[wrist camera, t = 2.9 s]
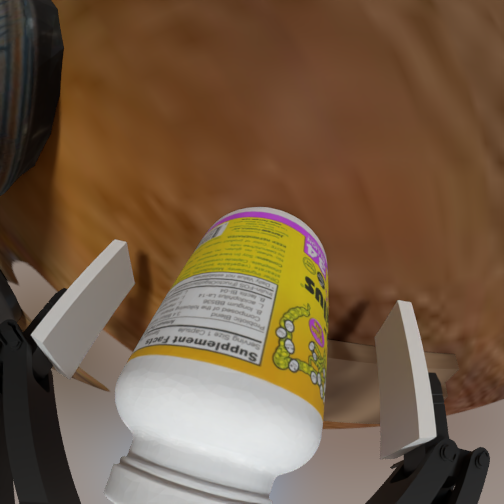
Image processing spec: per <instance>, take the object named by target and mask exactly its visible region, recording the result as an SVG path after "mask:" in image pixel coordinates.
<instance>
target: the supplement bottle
mask: <svg viewBox="0 0 504 504" xmlns="http://www.w3.org/2000/svg"><path fill="white" fill-rule="evenodd" d="M327 344H328V269H327V259H326V255H325V251H324V249H323V246H322V244H321V242H320V241H319V239H318V237H317V236H316V234H315V233H314V232H313V231H312V230H311V229H310V228H309V227H308V226H307V225H306V224H305V223H304V222H302V221H301V220H299V219H298V218H296V217H294V216H293V215H291V214H289V213H286V212H284V211H281V210H277V209H273V208H268V207H251V208H244V209H240V210H236V211H234V212H231V213H229V214H227V215H225V216H223V217H222V218H220V219H219V220H218V221H217V222H216V223H215V224H214V225H213V226H212V227H211V228H210V229H209V230H208V232H207V233H206V234H205V236H204V237H203V239H202V240H201V241H200V243H199V245H198V246H197V248H196V249H195V251H194V252H193V254H192V255H191V257H190V258H189V260H188V262H187V263H186V265H185V266H184V268H183V270H182V271H181V273H180V274H179V276H178V278H177V279H176V281H175V282H174V284H173V286H172V287H171V289H170V291H169V292H168V294H167V296H166V297H165V299H164V300H163V302H162V304H161V306H160V307H159V309H158V310H157V312H156V314H155V315H154V317H153V319H152V320H151V322H150V324H149V326H148V327H147V329H146V331H145V332H144V334H143V336H142V337H141V339H140V341H139V343H138V344H137V346H136V348H135V349H134V351H133V353H132V355H131V356H130V358H129V360H128V361H127V363H126V365H125V367H124V369H123V371H122V373H121V374H120V377H119V378H118V381H117V384H116V389H115V403H116V407H117V410H118V413H119V415H120V417H121V419H122V421H123V422H124V423H125V425H126V426H127V427H128V428H129V429H130V431H131V432H132V434H133V441H132V444H131V447H130V449H129V453H128V455H127V456H126V457H125V456H124V457H121V459H120V463H119V464H114V465H113V468H112V471H111V474H110V477H109V480H108V482H107V485H106V487H105V490H104V494H105V496H106V497H107V498H108V499H109V500H110V501H112V502H113V503H115V504H272V500H270V499H269V494H270V491H271V488H272V484H273V481H274V479H275V478H276V477H277V476H278V475H281V474H285V473H288V472H291V471H293V470H296V469H298V468H299V467H301V466H302V465H304V464H305V463H306V462H307V461H308V460H309V459H311V458H312V456H313V455H314V454H315V452H316V450H317V448H318V446H319V444H320V440H321V435H322V426H323V416H324V403H325V388H326V370H327Z"/></svg>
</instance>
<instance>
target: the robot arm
mask: <svg viewBox="0 0 504 504" xmlns="http://www.w3.org/2000/svg"><path fill="white" fill-rule="evenodd" d="M134 284H135V282H134V277H133V272H132V268H131V263H130V257H129V252H128V247H127V242H124V241H119V240H114V241H113V242H112V243H111V244H110V245H109V246H108V247H107V248H106V249H105V250H104V251H103V252H102V253H101V254H100V255H99V256H98V257H97V258H96V259H95V260H94V261H93V262H92V263H91V264H90V265H89V266H88V267H87V269H86V270H85V271H84V272H83V273H82V274H81V275H80V276H79V277H78V278H77V279H76V281H75V282H74V283H73V284H72V285H71V286H70V287H69V288H68V289H65V288H63V289H62V290H60V291H59V292H57V293H56V294H55V295H54V296H53V297H52V298H51V299H50V301H49V303H47V304H46V305H45V307H44V308H43V309H42V310H41V311H40V312H39V314H38V315H37V316H36V317H35V319H34V320H33V321H32V322H31V324H30V325H29V326H28V327H27V329H26V330H25V331H24V332H23V331H22V330H21V328H20V327H19V325H18V324H17V321H18V320H19V319H20V318H21V316H22V311H21V308H20V305H19V303H18V301H17V299H16V297H15V295H14V293H13V291H12V289H11V288H10V286H9V284H8V283H7V281H6V279H5V278H4V276H3V275H2V273H1V272H0V504H15V499H14V488H13V481H14V485H15V488H16V492H17V496H18V499H19V504H81V502H80V499H79V497H78V494H77V491H76V488H75V485H74V482H73V479H72V475H71V472H70V469H69V465H68V461H67V458H66V454H65V450H64V445H63V441H62V437H61V432H60V426H59V421H58V415H57V409H56V402H55V394H54V387H53V386H54V385H53V375H52V371H51V368H52V366H54V368H55V369H56V370H57V371H58V372H59V373H60V374H62V375H63V376H65V377H67V378H68V379H71V378H72V376H73V374H74V373H75V371H76V369H77V368H78V366H79V365H80V363H81V361H82V360H83V358H84V357H85V355H86V353H87V352H88V350H89V349H90V347H91V346H92V344H93V342H94V341H95V340H96V338H97V337H98V335H99V334H100V332H101V331H102V329H103V328H104V326H105V325H106V323H107V322H108V321H109V319H110V318H111V316H112V315H113V313H114V312H115V311H116V309H117V308H118V306H119V305H120V303H121V302H122V301H123V299H124V298H125V297H126V295H127V294H128V292H129V291H130V290H131V288H132V287H133V286H134ZM375 344H376V354H377V365H378V378H379V394H380V427H381V441H380V442H381V443H380V459H394V458H398V457H400V456H402V455H404V460H402V461H400V462H398V463H396V464H394V465H393V466H392V467H390V468H392V469H393V468H395V467H397V468H396V469H395V470H394V471H393V473H392V474H391V475H390V476H389V478H388V479H387V480H386V481H385V482H384V484H383V485H382V486H381V487H380V488H379V490H377V492H376V493H375V494H374V495H373V496H372V497H371V498H370V499H369V500H368V501H367V502H366V503H365V504H477V503H478V501H479V498H480V494H481V492H482V489H483V485H484V482H485V478H486V475H487V471H488V467H489V462H490V457H489V453H488V451H487V450H486V449H485V448H482V447H480V448H477V449H475V450H474V451H472V452H471V451H467V450H463V449H459V448H458V447H457V445H456V443H455V442H454V441H453V440H451V439H449V435H448V427H447V419H446V411H445V404H444V398H443V396H442V394H443V392H442V387H441V382H440V380H439V379H438V377H437V375H436V373H431V372H428V370H427V365H426V360H425V355H424V351H423V346H422V342H421V338H420V334H419V330H418V326H417V322H416V318H415V315H414V311H413V307H412V304H411V302H405V301H400V300H397V302H396V304H395V306H394V307H393V309H392V311H391V312H390V314H389V316H388V317H387V319H386V320H385V322H384V324H383V325H382V327H381V328H380V330H379V331H378V333H377V334H376V336H375ZM454 486H455V487H454ZM453 488H454V490H453Z"/></svg>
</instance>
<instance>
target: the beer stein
mask: <svg viewBox="0 0 504 504" xmlns="http://www.w3.org/2000/svg"><path fill="white" fill-rule="evenodd" d="M63 51H64V46H63V41H62V35H61V30H60V24H59V17H58V10H57V8H56V6H55V5H54V4H53V2H52V1H51V0H0V196H1V195H3V194H4V193H5V192H6V191H7V190H8V189H9V188H10V187H11V186H12V185H13V183H14V182H15V181H16V180H17V179H18V178H19V177H20V176H21V175H22V174H24V173H25V172H26V171H28V170H29V169H31V168H32V167H33V166H35V164H36V161H37V159H38V157H39V155H40V153H41V151H42V149H43V147H44V145H45V144H46V142H47V140H48V138H49V136H50V134H51V130H52V125H53V120H54V115H55V111H56V107H57V103H58V99H59V95H60V81H61V68H62V59H63Z"/></svg>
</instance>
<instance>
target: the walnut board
mask: <svg viewBox="0 0 504 504" xmlns="http://www.w3.org/2000/svg"><path fill="white" fill-rule="evenodd" d="M424 355H425V360H426V365H427V370H428V372H431V373H436V375H437V377H438V379H439V380H440V382H441V387H442V392H443V394H442V396H443V398H444V399H445V398H446V397H448V396H447V390H446V385H445V382H446V381H448V380H449V379H450V378H451V377H452V376H453V375H454V374H455V373H456V372H457V371H458V370H459V367H458V363H457V359H456V356H455V354H442V353H430V352H424ZM323 421H333V422H346V423H363V424H380V394H379V378H378V365H377V354H376V347H375V346H368V345H361V344H354V343H347V342H341V341H335V340H329V339H328V344H327V370H326V388H325V403H324V416H323Z"/></svg>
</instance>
